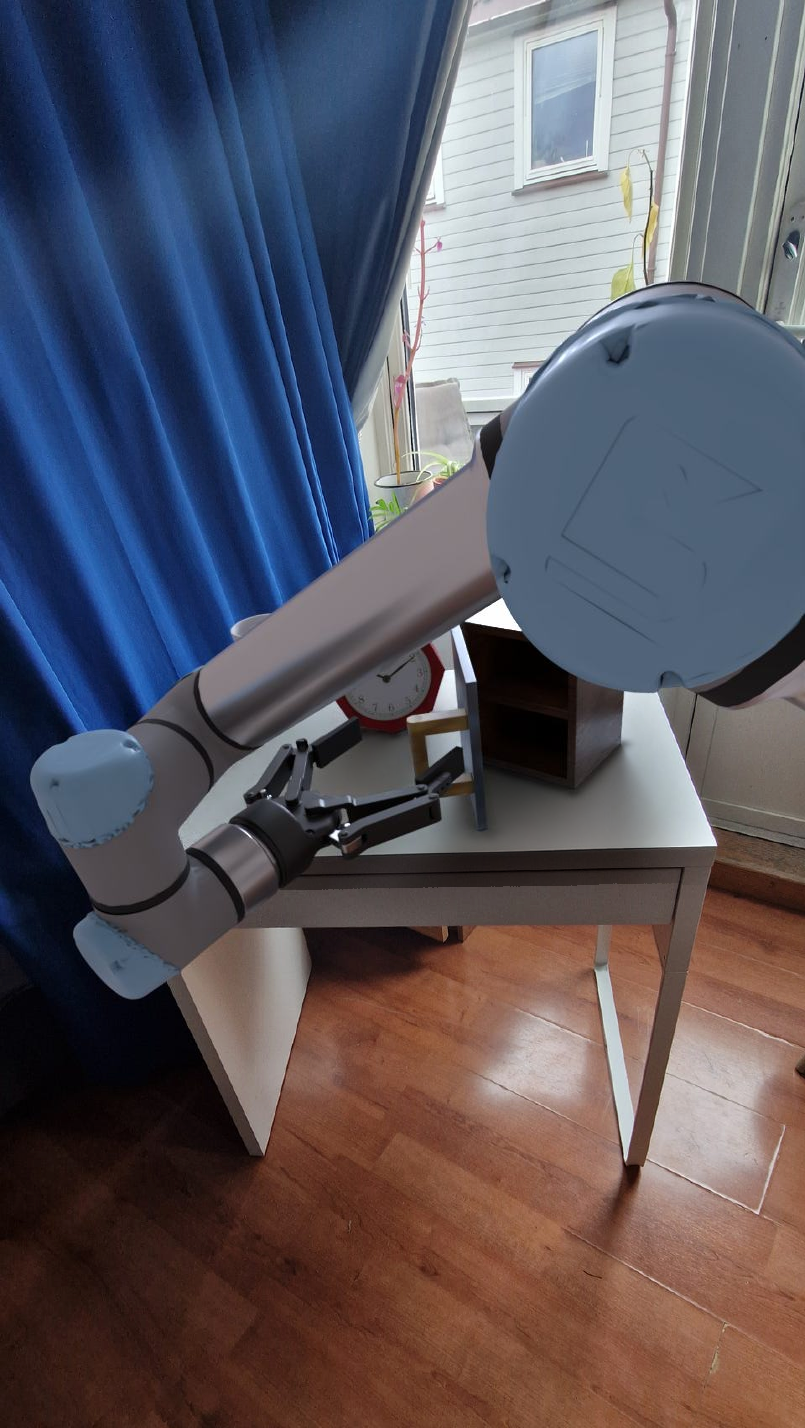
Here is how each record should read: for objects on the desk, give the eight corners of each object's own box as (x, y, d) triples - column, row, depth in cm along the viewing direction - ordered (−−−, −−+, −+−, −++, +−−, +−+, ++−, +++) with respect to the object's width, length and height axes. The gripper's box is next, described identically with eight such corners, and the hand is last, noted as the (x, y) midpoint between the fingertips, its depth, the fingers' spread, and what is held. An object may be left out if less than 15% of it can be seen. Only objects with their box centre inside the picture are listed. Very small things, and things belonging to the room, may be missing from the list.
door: (423, 837, 76) (402, 692, 65) (414, 768, 87) (395, 633, 76) (487, 829, 76) (476, 681, 65) (470, 760, 86) (459, 624, 76)
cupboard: (574, 789, 79) (578, 640, 68) (470, 758, 87) (458, 620, 76) (621, 742, 85) (630, 599, 74) (519, 718, 93) (515, 584, 82)
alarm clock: (339, 744, 94) (306, 589, 81) (335, 714, 100) (304, 567, 88) (451, 723, 94) (434, 566, 81) (439, 695, 101) (423, 545, 88)
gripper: (181, 846, 71) (328, 746, 83) (366, 942, 58) (511, 806, 69) (154, 782, 67) (314, 686, 78) (349, 871, 53) (508, 738, 64)
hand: (407, 742), depth 74 cm, fingers open, 13 cm apart
